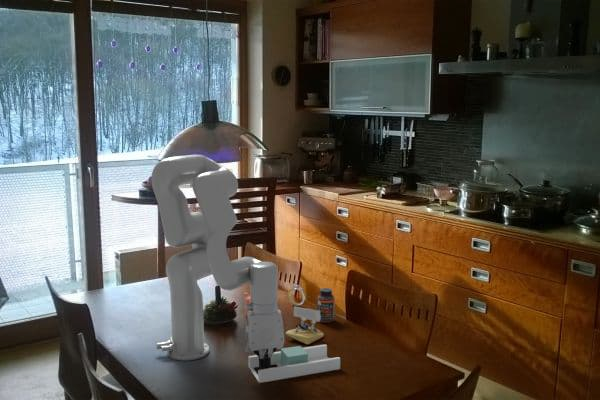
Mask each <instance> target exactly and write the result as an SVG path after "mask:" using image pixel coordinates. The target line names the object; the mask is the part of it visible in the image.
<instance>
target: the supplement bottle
mask: <svg viewBox="0 0 600 400" xmlns="http://www.w3.org/2000/svg"><path fill="white" fill-rule="evenodd" d="M319 293H320V294H318V295H317V301H316V302H317V307H316V308H317V309H316V310H319V311H320V323H323V324H328V323H329V324H330V323H332V322H334V320H335V296H334V295H333V289H331V288H328V287H322V288H320V290H319Z"/></svg>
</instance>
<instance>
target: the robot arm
mask: <svg viewBox="0 0 600 400" xmlns="http://www.w3.org/2000/svg"><path fill="white" fill-rule="evenodd" d="M150 178H151V180H150V181H151V187H152V190H153V194H154V195H155V198H156V201H157V205H158V209H159V214H160V218H161V219H160V221H161V225H162V230H163V234H164V238H165V241H166V244H167V245H168V246H169V247H170V248H175V249H178V248H184V247H188V246H192V248H190V249H187V250H183V251H180V252H178V253H176V254H174V255H172V256H171V257H170V258H169V259H168V260H167V261H166V262H167V263H166V265H165V272H166V277H167V281H168V284H169V285H168V286H169V292H170V312H171V313H170V314H171V317H170V318H171V336H169V340H166V341H162V342H161V341H160V342H156V344H155V345H156V350H161V351H162V352H164V351H165V352H167V356H168V357H169V358H171V359H172V360H177V361H193V360H198V359H200V358H201V359H202V358H204V357H205V356H207V355H208V354H209V352H210V346H209V345H208V344H207V343H206V342H205V332H204V329H205V328H204V326H205V325H204V300H203V298H204V296H203V293H202V292H203V291H202V290H201V288H200V286H199V284H198V281H200V280H202V279H204V278H207V277H210V276H212V277H213V279H214V280H215V282H216V284H217V285H218V287H220V288H221V289H222V290H224V291H233V290H237V289H239V288H241V287H244V286H246V285H249V287H250V289H249V290H250V293H249V296H251V301H250V303H249V304H248V305H246V306H245V305H244V309H245V308H246V310H250V311H249V313H248V316H247V318H246V325H245V343H246V345H245V351H246V353H248V354H254V355H257V356H259V367H258V368H259V369H260V370H262V369H268V368H272V367H271V366H272V365H271V357H272V354H273V353H274V352H277V350H281V349H282V348H284V345H285V331H284V330H285V329H284V321H283V315H282V310H280V309H279V300H278V299H279V297H278V296H279V289H278V288H279V286H278V285H279V283H278V282H279V276H278V275H279V274H278V273H279V271H278V265H276V263H274V262H271V261H262V260H260V259H258V258H255V257H252V256H243V257H240V258H238V259H237V258H236V259H234V260H231V259H230V258H229V257H230V256H229V255H228V251H227V240H228V237H229V234H230V233H231V230H233V228H234V227H235V226H236V224H237V222H238V218H237V217H238V216H237V215H236V213H235V210H234V207H233V206H232V203H231V200H230V198H232V197H233V196H235V195H236V194H237V192H238V190H239V182H238V178H237V177H236V176H235V174H234V173H233V171H231V170H230V169H229V168H227V167H225V166H223V165H221V164H220V163H218V162H216V161H215V160H213V159H211V158H209V157H208V156H205V155H204V154H203V155H202V154H188V155H177V156H170V157H167V158H163V159H162V160H160V161H158V162H157V163H156V165H154V167H153V170H152V173H151V177H150ZM190 184H192V190H193V193H194V196H195V199H196V201H197V203H198V206H199V209H200V211H192V212H191V211H190V208H189V202H188V200H187V199H188V198H187V197H186V195H185V193H184V192H183V191H182V190H181V189H180V188H179V187H180V186H185V185H190Z"/></svg>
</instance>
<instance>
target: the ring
mask: <svg viewBox="0 0 600 400" xmlns="http://www.w3.org/2000/svg"><path fill="white" fill-rule="evenodd" d="M294 290H295V291H296V290H297V291H299V292H300V293H301V295H302V300H301V302H300V303H299V302H295V301H294V299H293V298H292V291H294ZM287 295H288V300H289V301H290V303H292V305H294V306H296V307H299V306H301V305H303V304H305V302H306V298H307V294H306V291H305V290H304V288H302V286H301V285H299V284H295V285H292V286H291V288H290V289H289V290H288V293H287Z"/></svg>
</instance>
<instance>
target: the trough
mask: <svg viewBox="0 0 600 400" xmlns="http://www.w3.org/2000/svg"><path fill="white" fill-rule="evenodd" d="M302 348H303V349H304V350H305V351H306V352H307V353H308V362H305V363H299V364H292V365H286V366H281V350H279V351H275V352H274V353H273V354H272V357H271V366H272V365H276V367H269V368H268V369H258V370H257V371H258V372H257V371H256V370H255V368H259V356H257V355H256V354H253V355H248V368H249V370H250V371H251V373H252V374H253V375H254V377H255V378H256V380H257V382H258V383H259V384H261V383H268V382H272V381H278V380H284V379H290V378H297V377H302V376H307V375H308V376H309V375H313V374H319V373H324V372H325V373H326V372H331V371H338V370H341V357H339V356H337V357H329V356H328V345H327V344H326V343H325V344H319V345H313V346H305V347H302Z"/></svg>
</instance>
